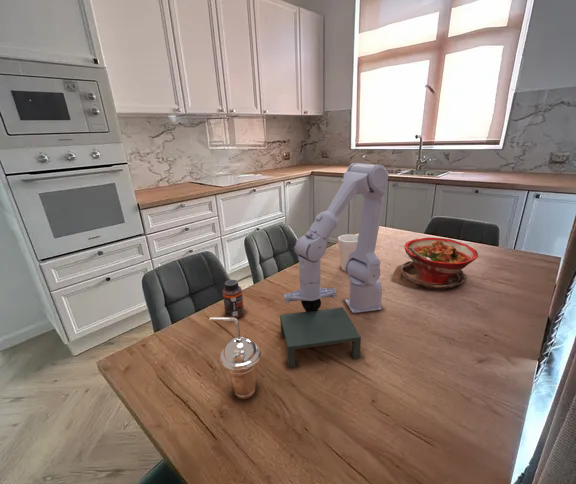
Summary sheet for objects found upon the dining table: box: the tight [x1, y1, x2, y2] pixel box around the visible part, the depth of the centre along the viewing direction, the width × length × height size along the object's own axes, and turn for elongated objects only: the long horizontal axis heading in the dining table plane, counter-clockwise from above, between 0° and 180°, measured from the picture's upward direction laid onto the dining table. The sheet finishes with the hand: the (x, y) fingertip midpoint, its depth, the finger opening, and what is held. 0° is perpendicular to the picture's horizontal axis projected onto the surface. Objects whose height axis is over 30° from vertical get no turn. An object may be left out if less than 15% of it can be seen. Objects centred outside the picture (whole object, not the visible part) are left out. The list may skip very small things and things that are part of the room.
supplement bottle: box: [222, 279, 245, 319], centre depth 96 cm, size 6×6×11 cm
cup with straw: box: [208, 316, 262, 400], centre depth 66 cm, size 8×9×20 cm
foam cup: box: [337, 233, 359, 272], centre depth 124 cm, size 10×9×13 cm
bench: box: [279, 306, 362, 369], centre depth 82 cm, size 18×14×6 cm
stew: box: [392, 237, 479, 292], centre depth 111 cm, size 28×24×16 cm
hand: (310, 320), depth 90 cm, fingers closed, pressing on bench, pastry
